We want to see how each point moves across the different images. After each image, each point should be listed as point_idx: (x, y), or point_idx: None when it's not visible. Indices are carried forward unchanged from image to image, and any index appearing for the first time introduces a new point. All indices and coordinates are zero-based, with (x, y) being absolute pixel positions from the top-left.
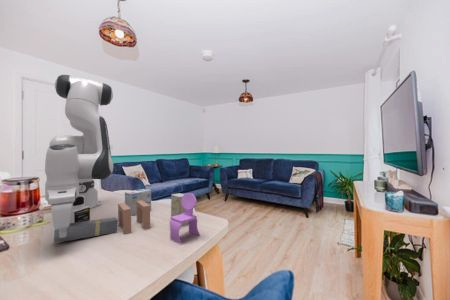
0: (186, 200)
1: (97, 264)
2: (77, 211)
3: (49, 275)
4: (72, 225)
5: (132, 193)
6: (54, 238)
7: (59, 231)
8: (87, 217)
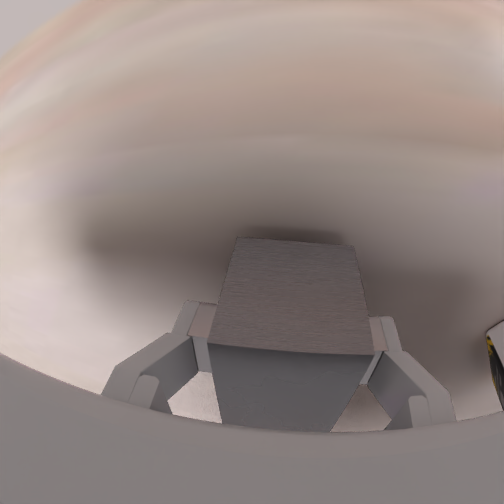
0: None
1: (5, 318)
2: None
3: None
4: (248, 419)
5: None
6: (229, 264)
7: (155, 344)
8: (501, 401)
